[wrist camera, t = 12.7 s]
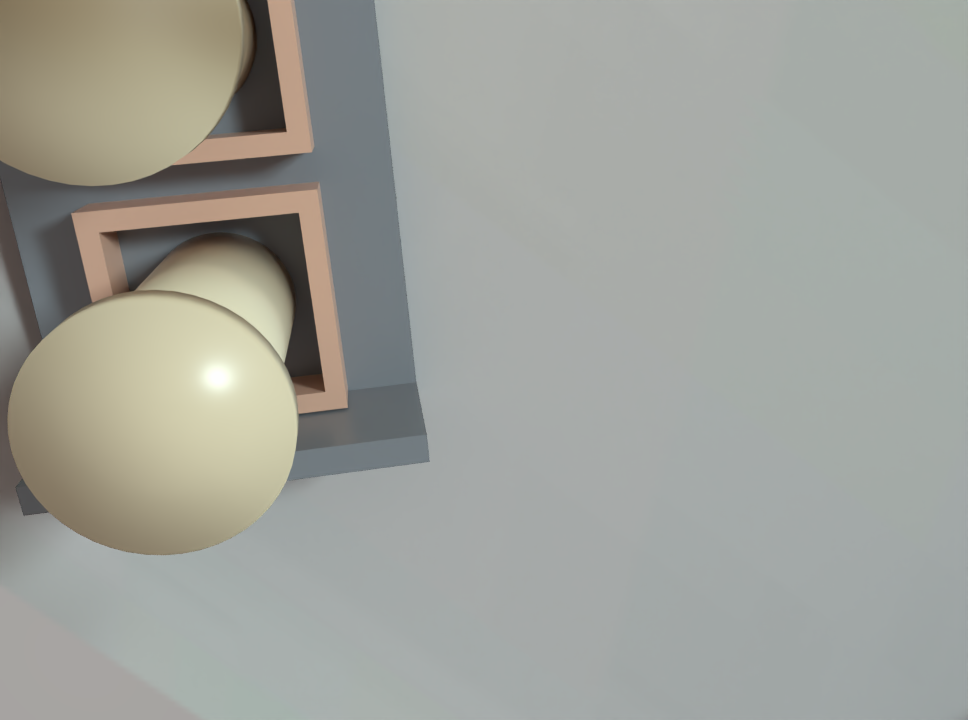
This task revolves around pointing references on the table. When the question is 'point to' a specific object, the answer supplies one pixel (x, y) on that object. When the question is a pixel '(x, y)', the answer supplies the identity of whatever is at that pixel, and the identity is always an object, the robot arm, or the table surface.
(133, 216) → the housing
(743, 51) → the table surface
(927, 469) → the table surface
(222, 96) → the cream pawn-shaped knob
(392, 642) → the table surface
